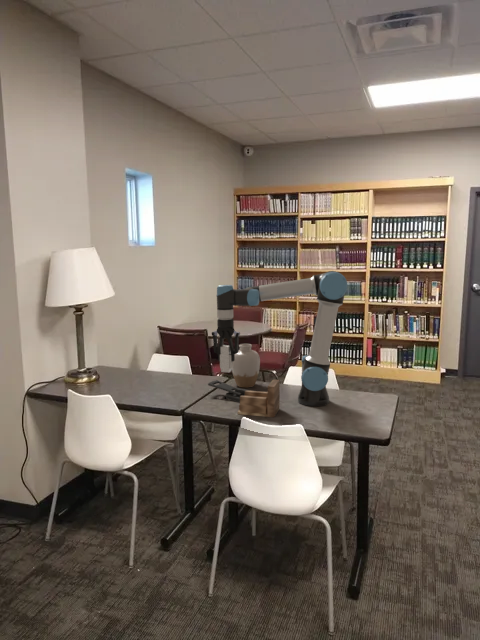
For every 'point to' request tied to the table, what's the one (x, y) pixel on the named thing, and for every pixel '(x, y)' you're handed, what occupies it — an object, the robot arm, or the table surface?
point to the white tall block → (225, 358)
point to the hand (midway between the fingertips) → (226, 367)
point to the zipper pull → (229, 390)
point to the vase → (246, 366)
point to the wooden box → (261, 401)
